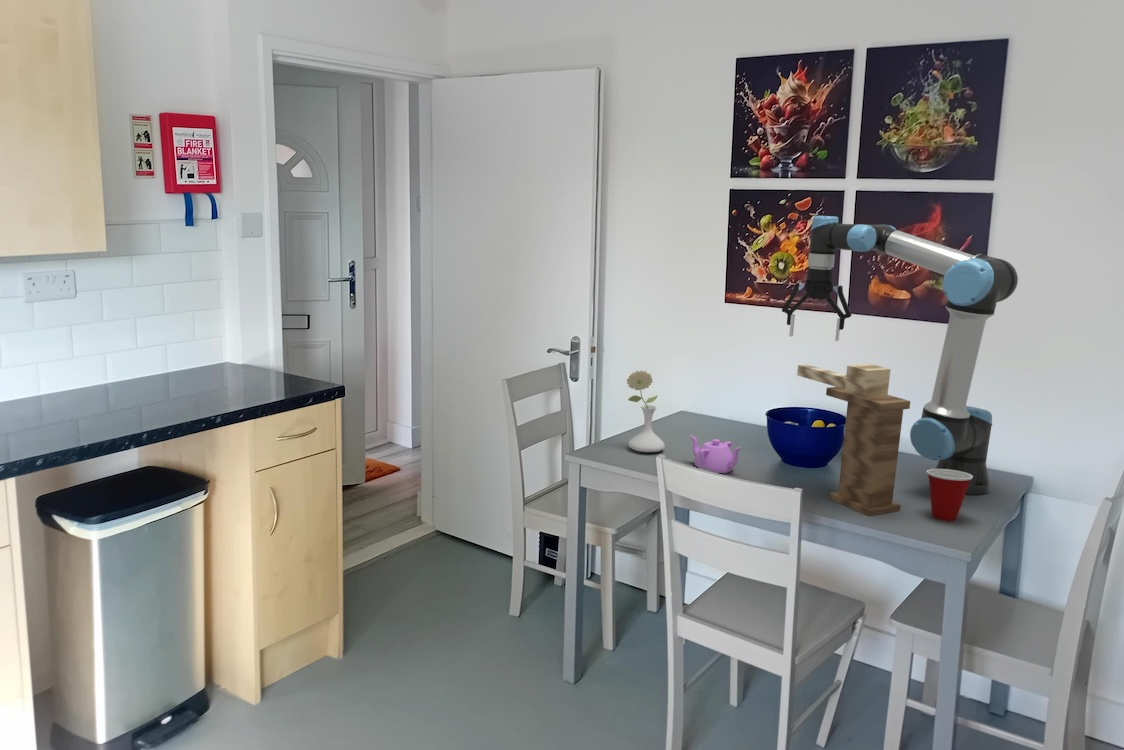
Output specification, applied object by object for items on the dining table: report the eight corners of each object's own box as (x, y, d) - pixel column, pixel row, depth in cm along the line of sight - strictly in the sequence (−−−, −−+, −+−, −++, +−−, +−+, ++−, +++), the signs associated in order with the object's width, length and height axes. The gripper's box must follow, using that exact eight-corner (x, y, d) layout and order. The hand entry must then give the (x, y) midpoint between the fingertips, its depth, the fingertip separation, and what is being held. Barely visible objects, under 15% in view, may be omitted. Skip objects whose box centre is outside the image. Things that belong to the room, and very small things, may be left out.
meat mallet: (887, 395, 226) (890, 369, 225) (864, 397, 223) (867, 370, 221) (811, 374, 251) (814, 350, 249) (790, 375, 247) (792, 351, 246)
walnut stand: (900, 510, 227) (913, 401, 221) (868, 516, 222) (881, 404, 216) (844, 487, 244) (856, 385, 238) (814, 491, 239) (825, 387, 233)
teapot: (739, 476, 250) (742, 446, 248) (690, 474, 250) (693, 444, 249) (734, 464, 261) (736, 435, 260) (687, 461, 262) (689, 433, 260)
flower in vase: (667, 447, 276) (672, 369, 271) (661, 457, 265) (667, 376, 260) (626, 442, 279) (630, 365, 274) (619, 452, 268) (623, 372, 263)
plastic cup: (954, 510, 229) (960, 466, 226) (975, 525, 218) (981, 479, 216) (913, 509, 228) (919, 465, 226) (932, 524, 218) (938, 478, 215)
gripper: (865, 270, 262) (857, 340, 266) (780, 264, 272) (774, 332, 276) (863, 271, 255) (855, 343, 259) (776, 266, 265) (770, 335, 269)
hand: (813, 338), depth 268 cm, fingers open, 13 cm apart
